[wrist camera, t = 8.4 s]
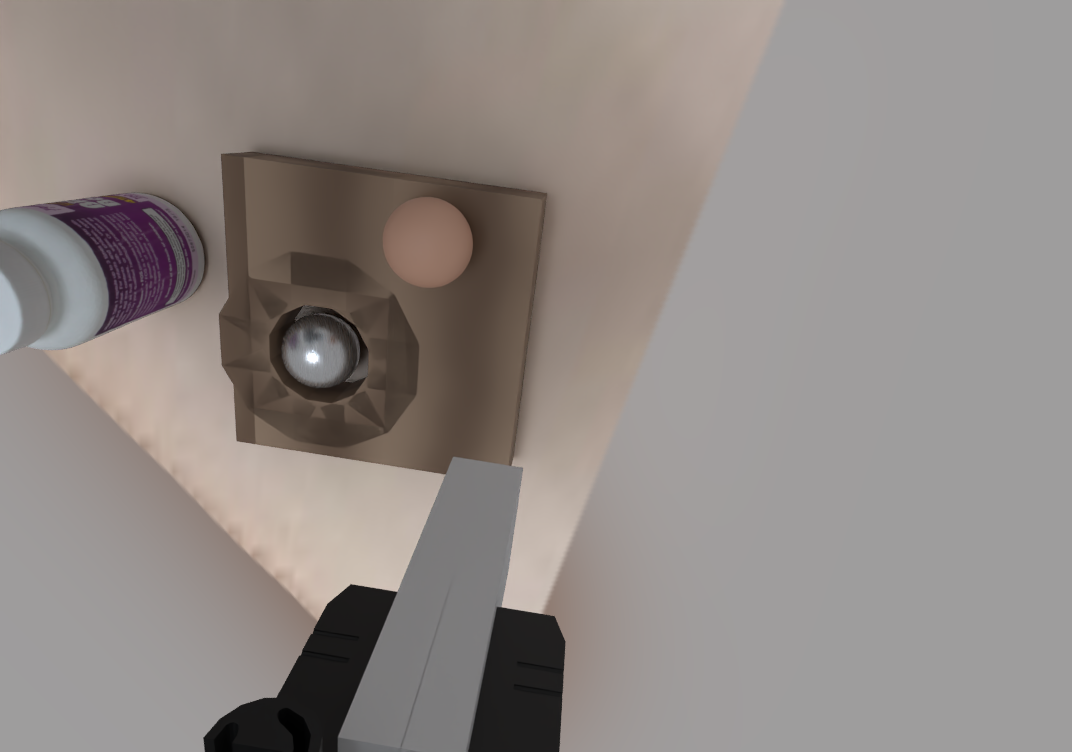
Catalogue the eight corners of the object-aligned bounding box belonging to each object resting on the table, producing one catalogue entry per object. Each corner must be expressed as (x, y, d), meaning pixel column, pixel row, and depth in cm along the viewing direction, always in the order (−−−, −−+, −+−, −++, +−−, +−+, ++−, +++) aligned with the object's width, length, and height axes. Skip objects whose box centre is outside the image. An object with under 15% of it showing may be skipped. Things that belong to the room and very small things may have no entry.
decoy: (395, 271, 27) (368, 290, 23) (399, 186, 25) (371, 195, 22) (476, 282, 26) (459, 303, 23) (483, 199, 25) (467, 209, 22)
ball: (289, 400, 27) (367, 395, 29) (290, 322, 26) (371, 322, 28) (274, 377, 30) (346, 374, 32) (275, 306, 29) (349, 307, 31)
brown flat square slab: (253, 417, 33) (226, 439, 30) (241, 150, 28) (208, 152, 25) (512, 458, 32) (506, 483, 30) (547, 193, 27) (542, 199, 25)
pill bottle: (154, 166, 28) (-50, 184, 19) (232, 268, 30) (74, 328, 21) (75, 230, 30) (-149, 273, 21) (152, 324, 31) (-27, 403, 22)
